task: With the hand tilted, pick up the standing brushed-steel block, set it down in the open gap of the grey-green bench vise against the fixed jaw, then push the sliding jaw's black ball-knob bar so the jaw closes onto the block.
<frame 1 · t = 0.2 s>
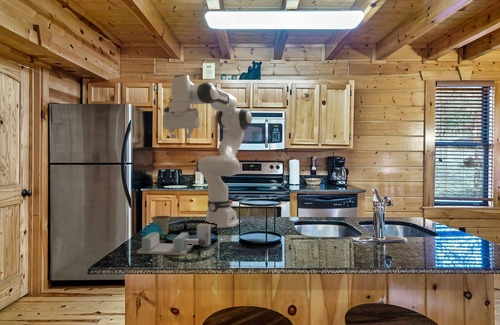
hand: (180, 138, 154), 48 cm above the countertop, tool pointing down, fingers open, 8 cm apart
block: (203, 245, 143), on the countertop
vise: (166, 249, 136), on the countertop
jaw: (191, 241, 135), point 4 cm above the countertop, slide at 0.0 cm
gear: (153, 240, 152), on the countertop
flower pot: (161, 234, 162), on the countertop
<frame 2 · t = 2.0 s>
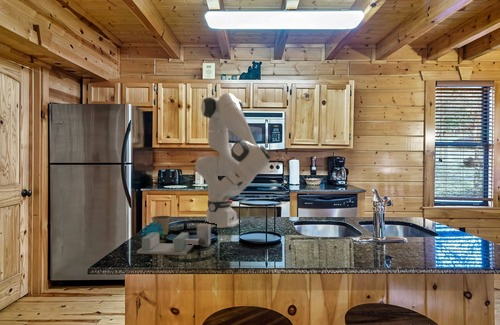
hand: (219, 200, 140), 20 cm above the countertop, tool tilted 45°, fingers open, 8 cm apart
nothing on the countertop moved.
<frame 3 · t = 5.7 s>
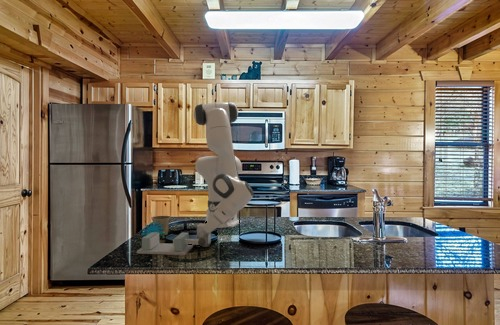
hand: (202, 233, 143), 5 cm above the countertop, tool tilted 45°, fingers closed on block, 5 cm apart
block: (203, 244, 143), on the countertop, touching gripper
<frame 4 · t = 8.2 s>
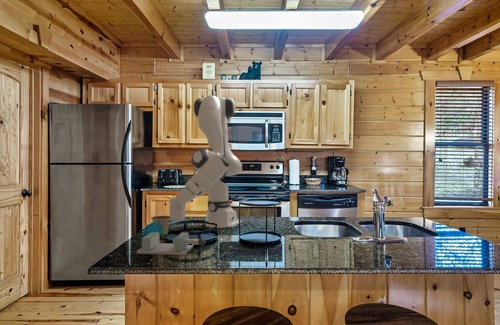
hand: (175, 208, 138), 17 cm above the countertop, tool tilted 45°, fingers closed on block, 5 cm apart
block: (177, 219, 138), point 12 cm above the countertop, touching gripper
everything else where it was.
when the fingers open (7 cm above the countertop, at t = 10.9 s): block drops 1 cm, resting on vise.
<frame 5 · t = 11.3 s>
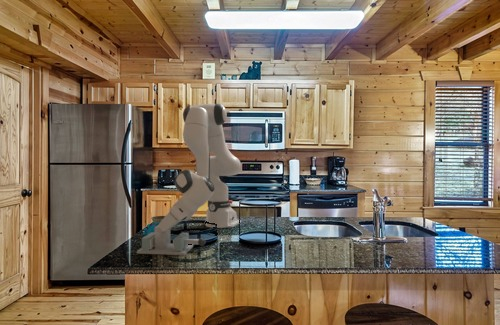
hand: (161, 232, 136), 7 cm above the countertop, tool tilted 45°, fingers open, 8 cm apart
block: (162, 247, 136), point 1 cm above the countertop, touching vise
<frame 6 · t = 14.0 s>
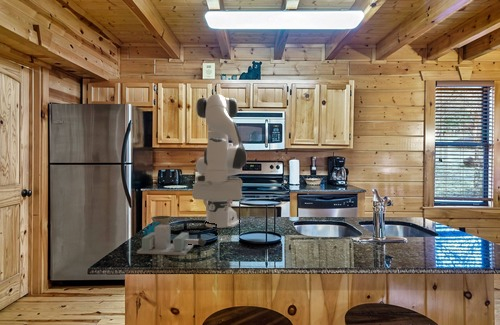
hand: (217, 210, 133), 17 cm above the countertop, tool pointing down, fingers open, 6 cm apart
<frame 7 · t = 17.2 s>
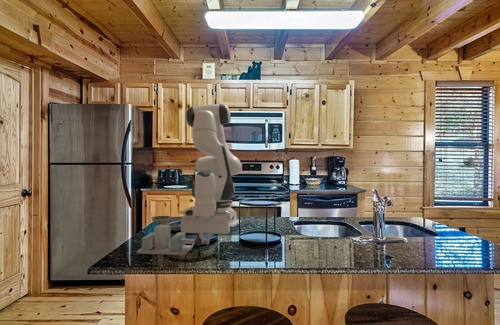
hand: (205, 243, 134), 3 cm above the countertop, tool pointing down, fingers closed
jaw: (187, 241, 135), point 4 cm above the countertop, slide at 1.5 cm, touching gripper
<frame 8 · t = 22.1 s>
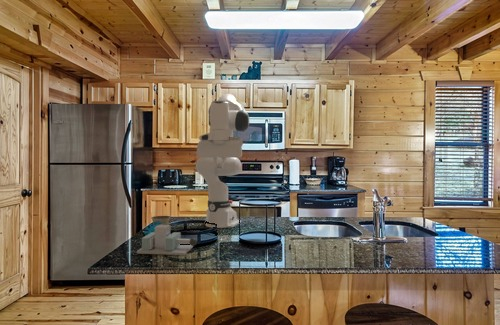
hand: (219, 167, 144), 34 cm above the countertop, tool pointing down, fingers closed
jaw: (182, 241, 135), point 4 cm above the countertop, slide at 3.6 cm
gear: (155, 238, 154), on the countertop, touching flower pot
flower pot: (161, 234, 162), on the countertop, touching gear
everything else where it was.
at the end: block 0.1 cm from the target spot on the vise, point 1.0 cm above the vise's base; block tilted 0°; jaw slide at 3.6 cm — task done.
